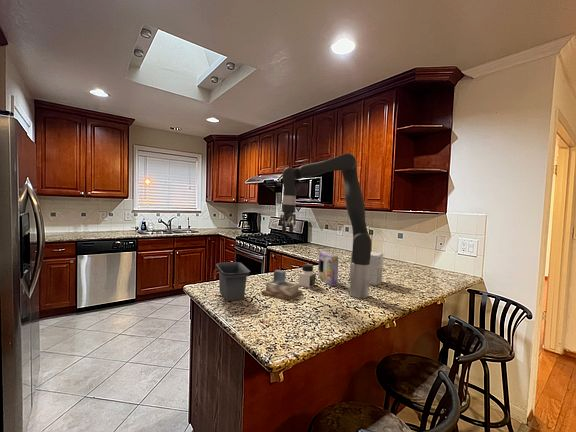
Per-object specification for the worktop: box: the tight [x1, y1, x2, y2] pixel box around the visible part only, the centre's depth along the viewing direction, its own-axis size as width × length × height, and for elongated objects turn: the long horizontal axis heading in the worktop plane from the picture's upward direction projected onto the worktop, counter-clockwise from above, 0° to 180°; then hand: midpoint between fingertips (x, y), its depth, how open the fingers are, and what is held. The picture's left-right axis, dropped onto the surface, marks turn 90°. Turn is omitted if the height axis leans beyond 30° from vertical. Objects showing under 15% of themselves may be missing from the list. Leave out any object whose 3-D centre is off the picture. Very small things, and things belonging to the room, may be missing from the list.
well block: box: [261, 279, 303, 302], centre depth 152 cm, size 16×14×6 cm
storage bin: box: [213, 261, 251, 302], centre depth 145 cm, size 21×16×14 cm
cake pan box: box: [317, 250, 339, 287], centre depth 179 cm, size 19×5×18 cm, turn 17°
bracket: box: [273, 269, 287, 286], centre depth 152 cm, size 9×4×10 cm, turn 62°
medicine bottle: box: [298, 263, 317, 289], centre depth 170 cm, size 7×7×12 cm
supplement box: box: [349, 251, 384, 286], centre depth 185 cm, size 17×13×18 cm
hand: (287, 232), depth 166 cm, fingers open, 8 cm apart
